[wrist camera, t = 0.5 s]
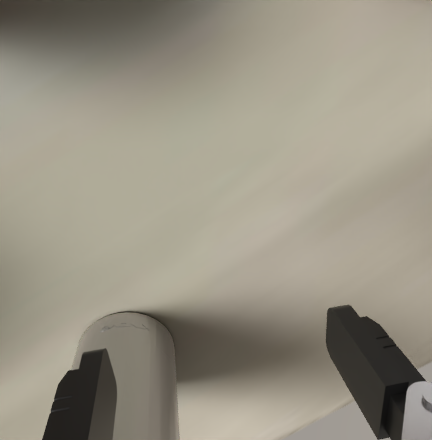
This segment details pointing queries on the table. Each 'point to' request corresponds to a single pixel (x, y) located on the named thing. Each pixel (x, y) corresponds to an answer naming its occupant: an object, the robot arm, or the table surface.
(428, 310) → the table surface
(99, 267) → the table surface
